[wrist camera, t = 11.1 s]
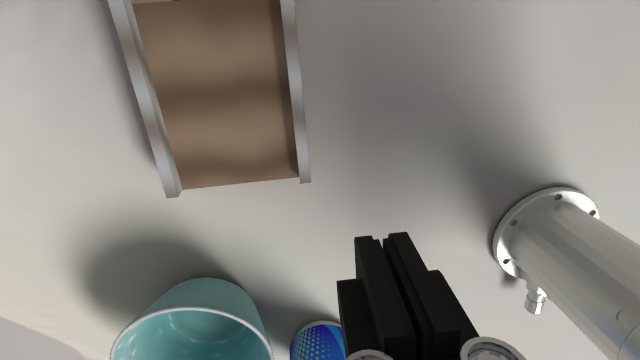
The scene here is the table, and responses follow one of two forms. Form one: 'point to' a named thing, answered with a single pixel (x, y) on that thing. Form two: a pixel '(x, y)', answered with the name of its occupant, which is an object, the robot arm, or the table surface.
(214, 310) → the bowl
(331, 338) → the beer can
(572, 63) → the table surface
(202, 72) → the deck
